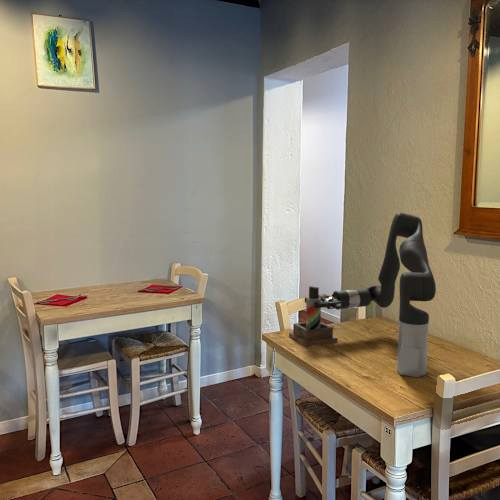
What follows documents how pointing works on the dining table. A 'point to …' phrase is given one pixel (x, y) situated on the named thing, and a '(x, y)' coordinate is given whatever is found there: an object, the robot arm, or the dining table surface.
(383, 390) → the dining table surface
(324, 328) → the bottle holder
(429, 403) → the dining table surface
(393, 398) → the dining table surface
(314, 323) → the lotion bottle
